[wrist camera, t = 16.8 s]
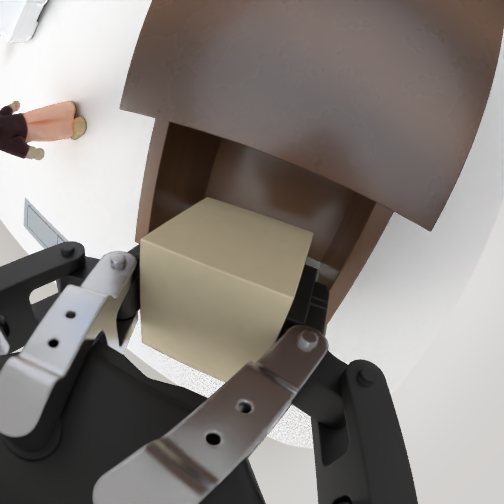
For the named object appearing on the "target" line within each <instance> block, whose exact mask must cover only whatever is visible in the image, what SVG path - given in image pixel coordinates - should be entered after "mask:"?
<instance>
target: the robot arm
mask: <svg viewBox="0 0 504 504" xmlns="http://www.w3.org/2000/svg"><path fill="white" fill-rule="evenodd" d="M317 270H318V269H315V268H313V267H310V266H307V265H304V268H303V271H302V275H301V278H300V281H299V284H298V288H297V291H296V294H295V297H294V300H293V302H292V305H291V307H290V310H289V312H288V315H287V317H286V319H285V322H284V324H283V326H282V329H281V331H280V334H279V336H278V338H277V340H276V343H275V344H274V345H273V346H272V347H271V348H270V349H269V350H268V351H267V352H266V353H265V354H264V355H263V356H262V357H261V358H260V359H259V360H258V361H257V362H256V363H254V362H252V361H250V362H248V363H247V364H245V365H244V366H243V367H242V368H241V369H240V370H239V371H238V372H237V373H236V374H235V375H234V376H232V377H231V378H230V379H229V380H228V381H227V382H226V383H225V384H224V385H223V386H222V387H220V388H219V389H218V390H217V391H216V392H215V393H214V394H213V395H211V396H210V397H209V398H206V397H204V396H202V395H199V394H197V393H195V392H193V391H191V390H188V389H186V388H184V387H180V386H176V385H172V384H168V383H164V382H160V381H157V380H153V379H150V378H148V377H146V376H145V375H144V374H143V373H142V372H141V371H140V370H138V369H137V368H136V367H135V366H134V365H133V364H132V363H131V362H130V361H129V360H128V359H127V358H126V357H125V356H124V352H125V350H126V347H127V345H128V342H129V340H130V337H131V335H132V333H133V330H134V328H135V325H136V323H137V321H138V310H139V309H140V244H139V245H137V246H136V247H134V248H133V249H131V250H130V251H129V252H123V251H115V252H110V253H108V254H106V255H104V256H103V257H102V258H101V259H96V258H91V257H87V256H85V249H84V246H83V245H82V244H80V243H78V242H64V243H60V244H58V245H55V246H52V247H50V248H47V249H44V250H41V251H39V252H36V253H34V254H31V255H28V256H26V257H24V258H21V259H18V260H16V261H14V262H11V263H9V264H6V265H4V266H1V267H0V504H266V503H265V501H264V498H263V496H262V493H261V491H260V488H259V486H258V483H257V481H256V478H255V475H254V473H253V470H252V468H251V465H250V462H249V460H248V458H249V456H250V455H251V454H252V453H253V452H254V451H255V450H256V448H257V447H258V446H259V445H260V444H261V442H262V441H263V440H264V439H265V438H266V436H267V435H268V434H269V433H270V431H271V430H272V429H273V428H274V426H275V425H276V424H277V423H278V421H279V420H280V419H281V418H282V416H283V415H284V414H285V413H286V411H287V410H288V409H289V407H290V406H291V405H292V404H293V405H294V406H296V407H297V408H299V409H300V410H302V411H303V412H305V413H306V414H308V415H309V416H311V424H312V434H313V444H314V455H315V466H316V478H317V490H318V504H418V502H417V496H416V491H415V486H414V481H413V477H412V472H411V468H410V464H409V460H408V456H407V451H406V448H405V444H404V440H403V436H402V433H401V429H400V425H399V422H398V418H397V415H396V411H395V408H394V405H393V402H392V398H391V395H390V392H389V389H388V386H387V382H386V379H385V377H384V374H383V373H382V371H381V370H380V369H379V368H378V367H377V366H376V365H375V364H373V363H371V362H369V361H366V360H355V361H352V362H351V363H350V364H349V365H347V364H346V363H344V362H342V361H341V360H339V359H338V358H336V357H335V356H333V355H332V354H331V353H330V352H329V351H328V341H327V339H326V338H325V336H324V335H323V334H324V328H325V322H326V315H327V308H328V301H329V292H328V289H327V287H326V285H324V284H321V283H318V282H316V281H315V279H316V275H317ZM55 280H56V282H57V287H58V293H56V294H54V295H52V296H50V297H47V298H45V299H43V300H41V301H39V302H37V303H34V304H30V301H29V296H30V294H31V292H32V291H33V290H34V289H37V288H39V287H41V286H43V285H45V284H48V283H50V282H53V281H55ZM23 346H24V348H23V349H22V351H21V352H17V353H12V352H14V351H16V350H18V349H19V348H21V347H23ZM10 353H11V354H10Z"/></svg>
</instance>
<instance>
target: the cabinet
mask: <svg viewBox="0 0 504 504" xmlns="http://www.w3.org/2000/svg"><path fill="white" fill-rule="evenodd" d="M503 28H504V0H152V2H151V5H150V7H149V10H148V13H147V15H146V18H145V21H144V23H143V26H142V29H141V32H140V35H139V38H138V41H137V44H136V47H135V50H134V54H133V57H132V60H131V64H130V68H129V71H128V75H127V79H126V83H125V87H124V91H123V95H122V99H121V104H120V109H121V110H126V111H130V112H134V113H138V114H142V115H146V116H150V117H154V118H158V119H161V120H165V121H169V122H172V123H176V124H179V125H182V126H186V127H189V128H193V129H196V130H199V131H202V132H205V133H209V134H212V135H215V136H218V137H221V138H224V139H227V140H230V141H233V142H235V143H238V144H241V145H244V146H247V147H249V148H252V149H255V150H258V151H260V152H263V153H266V154H268V155H271V156H273V157H276V158H278V159H281V160H284V161H286V162H289V163H291V164H293V165H296V166H298V167H301V168H303V169H305V170H308V171H310V172H312V173H315V174H317V175H319V176H322V177H324V178H326V179H328V180H331V181H333V182H335V183H337V184H339V185H342V186H344V187H346V188H348V189H350V190H352V191H354V192H356V193H358V194H360V195H363V196H365V197H367V198H369V199H371V200H373V201H375V202H377V203H379V204H381V205H382V206H384V207H386V208H388V209H390V210H392V211H394V212H396V213H398V214H400V215H401V216H403V217H405V218H407V219H409V220H411V221H412V222H414V223H416V224H418V225H420V226H421V227H423V228H425V229H427V230H428V231H432V229H433V227H434V225H435V223H436V221H437V220H438V218H439V216H440V214H441V212H442V210H443V208H444V206H445V204H446V202H447V200H448V198H449V196H450V194H451V192H452V190H453V188H454V186H455V184H456V182H457V179H458V177H459V175H460V173H461V170H462V168H463V166H464V164H465V161H466V159H467V156H468V154H469V151H470V149H471V146H472V144H473V141H474V139H475V136H476V133H477V131H478V128H479V125H480V122H481V119H482V116H483V113H484V110H485V107H486V104H487V100H488V97H489V94H490V90H491V86H492V83H493V79H494V75H495V71H496V66H497V62H498V57H499V52H500V47H501V41H502V35H503Z"/></svg>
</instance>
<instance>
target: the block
mask: <svg viewBox="0 0 504 504" xmlns="http://www.w3.org/2000/svg"><path fill="white" fill-rule="evenodd" d="M312 237H313V232H310V231H307V230H304V229H302V228H299V227H296V226H293V225H290V224H287V223H285V222H282V221H279V220H276V219H273V218H270V217H267V216H264V215H261V214H258V213H255V212H252V211H249V210H246V209H243V208H240V207H237V206H234V205H231V204H228V203H225V202H222V201H219V200H216V199H213V198H209V197H207V198H205V199H203V200H202V201H200V202H198V203H197V204H195V205H193V206H192V207H190V208H188V209H187V210H185V211H183V212H182V213H180V214H179V215H177V216H175V217H174V218H172V219H171V220H169V221H167V222H166V223H164V224H163V225H161V226H160V227H158V228H156V229H155V230H153V231H152V232H150V233H149V234H147V235H146V236H144V237H143V238H141V240H140V314H141V335H142V343H144V344H146V345H148V346H150V347H151V348H153V349H155V350H157V351H159V352H161V353H163V354H165V355H167V356H169V357H171V358H173V359H175V360H177V361H179V362H181V363H183V364H185V365H188V366H190V367H192V368H194V369H196V370H198V371H201V372H203V373H205V374H207V375H210V376H212V377H214V378H217V379H219V380H221V381H224V382H227V381H228V380H229V379H230V378H231V377H232V376H234V375H235V374H236V373H237V372H238V371H239V370H240V369H241V368H242V367H243V366H244V365H245V364H247V363H248V362H250V361H252V362H254V363H256V362H257V361H258V360H259V359H260V358H261V357H262V356H263V355H264V354H265V353H266V352H267V351H268V350H269V349H270V348H271V347H272V346H273V345H274V344H275V343H276V340H277V338H278V336H279V334H280V331H281V329H282V326H283V324H284V322H285V319H286V317H287V315H288V312H289V310H290V307H291V305H292V302H293V300H294V297H295V294H296V291H297V288H298V284H299V281H300V278H301V275H302V271H303V268H304V265H305V261H306V258H307V255H308V251H309V248H310V244H311V241H312Z"/></svg>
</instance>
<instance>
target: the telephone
mask: <svg viewBox="0 0 504 504" xmlns="http://www.w3.org/2000/svg"><path fill="white" fill-rule="evenodd" d="M47 1H48V0H47ZM47 1H46V0H0V36H1V37H2V38H4V39H5V40H6V41H8V42H13V43H18V42H27V41H28V39H31V38H32V36H33V34H34V32H35V30H36V27H37V25H38V21H37V19H38V16H39V14H40V12H41V10H42V8H43V6H44V4H46V2H47Z"/></svg>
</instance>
